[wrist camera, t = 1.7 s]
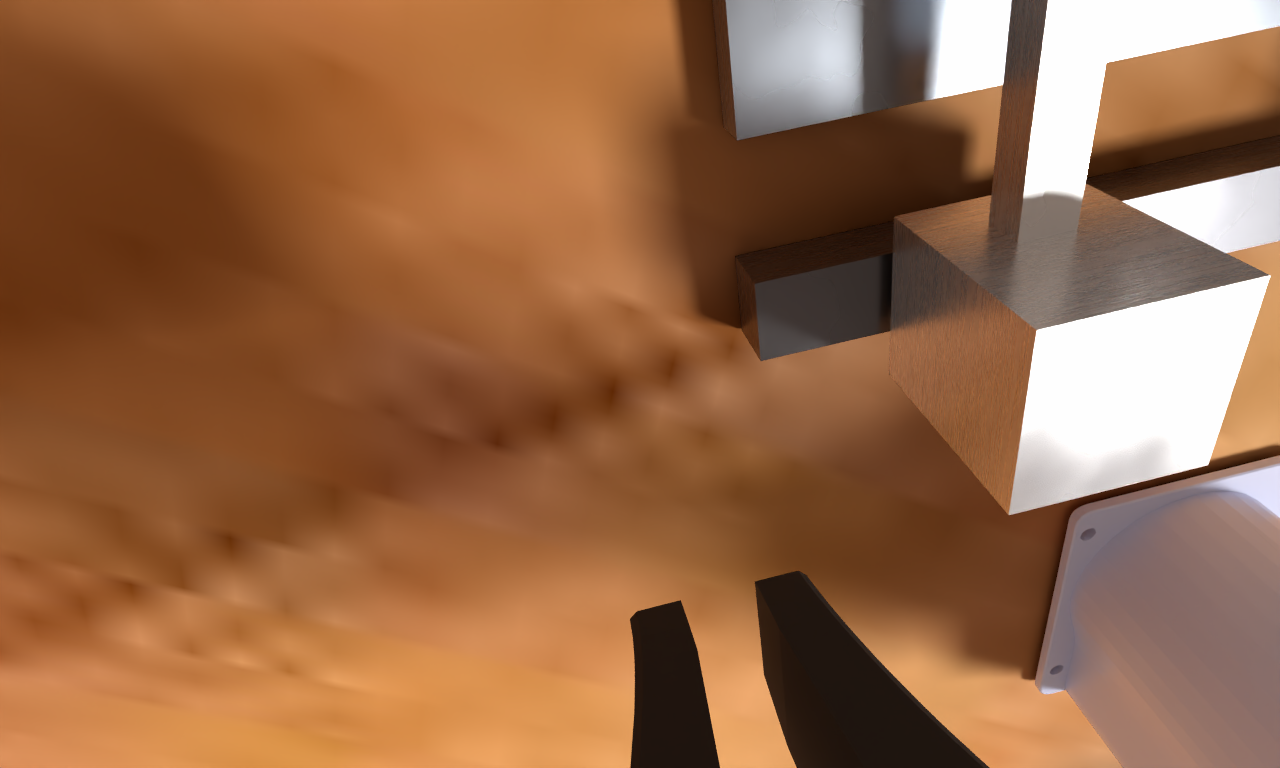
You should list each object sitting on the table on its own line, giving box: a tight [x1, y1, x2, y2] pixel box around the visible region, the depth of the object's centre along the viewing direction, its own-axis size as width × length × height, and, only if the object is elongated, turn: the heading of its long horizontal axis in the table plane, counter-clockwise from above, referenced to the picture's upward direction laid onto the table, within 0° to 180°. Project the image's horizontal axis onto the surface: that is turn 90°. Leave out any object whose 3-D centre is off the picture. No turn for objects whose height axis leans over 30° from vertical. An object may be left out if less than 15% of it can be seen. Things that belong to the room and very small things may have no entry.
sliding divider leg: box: [889, 0, 1270, 515], centre depth 14 cm, size 11×4×5 cm, turn 8°
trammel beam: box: [735, 136, 1280, 361], centre depth 19 cm, size 2×24×2 cm, turn 99°
